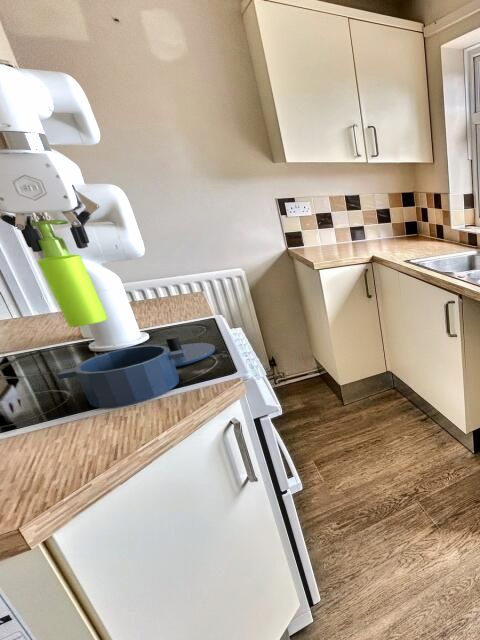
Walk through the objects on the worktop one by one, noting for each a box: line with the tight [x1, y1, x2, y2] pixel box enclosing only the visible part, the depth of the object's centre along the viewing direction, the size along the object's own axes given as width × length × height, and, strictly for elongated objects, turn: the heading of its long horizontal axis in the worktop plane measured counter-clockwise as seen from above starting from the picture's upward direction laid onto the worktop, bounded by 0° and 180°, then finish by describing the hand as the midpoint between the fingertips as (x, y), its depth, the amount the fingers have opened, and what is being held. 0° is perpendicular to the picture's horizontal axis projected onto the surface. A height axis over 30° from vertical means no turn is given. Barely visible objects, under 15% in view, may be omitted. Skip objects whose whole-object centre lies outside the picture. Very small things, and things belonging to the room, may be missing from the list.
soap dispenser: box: [30, 219, 108, 328], centre depth 82 cm, size 6×7×20 cm
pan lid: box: [165, 335, 216, 368], centre depth 104 cm, size 16×16×6 cm
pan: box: [57, 344, 186, 409], centre depth 88 cm, size 15×20×8 cm
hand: (61, 248), depth 80 cm, fingers closed on soap dispenser, 5 cm apart
